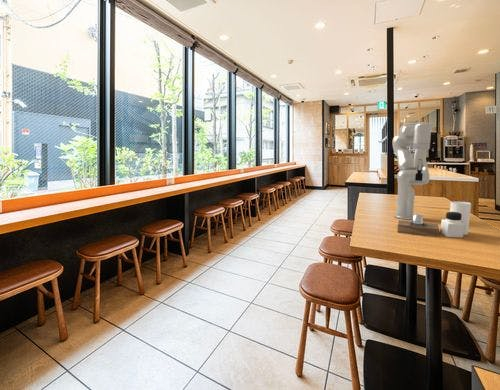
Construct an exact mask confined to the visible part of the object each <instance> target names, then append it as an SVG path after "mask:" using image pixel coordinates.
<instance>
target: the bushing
mask: <svg viewBox="0 0 500 390" xmlns="http://www.w3.org/2000/svg"><path fill="white" fill-rule="evenodd" d="M412 221H413V223H412V225H422V226H423V222H424V214H418V213H413V219H412Z"/></svg>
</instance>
